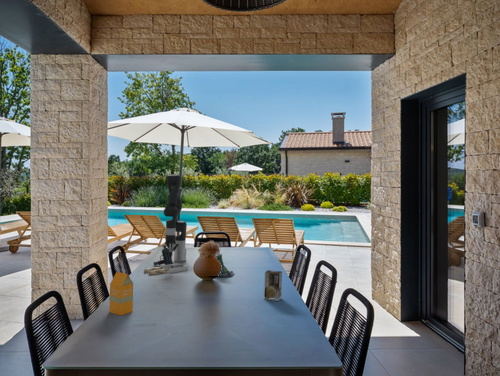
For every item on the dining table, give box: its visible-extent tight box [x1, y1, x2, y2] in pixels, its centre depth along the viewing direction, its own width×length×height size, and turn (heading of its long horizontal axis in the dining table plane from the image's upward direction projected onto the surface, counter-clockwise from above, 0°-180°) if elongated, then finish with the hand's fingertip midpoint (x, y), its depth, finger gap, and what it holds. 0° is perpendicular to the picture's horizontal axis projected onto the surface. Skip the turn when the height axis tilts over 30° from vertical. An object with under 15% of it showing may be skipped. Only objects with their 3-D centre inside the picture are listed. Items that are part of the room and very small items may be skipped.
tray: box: [160, 262, 188, 274], centre depth 284 cm, size 16×13×3 cm
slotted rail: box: [143, 266, 169, 276], centre depth 274 cm, size 14×9×2 cm, turn 130°
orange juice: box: [108, 271, 134, 316], centre depth 192 cm, size 8×9×20 cm
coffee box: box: [263, 269, 283, 302], centre depth 221 cm, size 9×6×16 cm
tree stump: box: [216, 253, 235, 278], centre depth 273 cm, size 18×20×18 cm
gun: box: [153, 248, 175, 267], centre depth 297 cm, size 3×17×15 cm
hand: (170, 256), depth 282 cm, fingers closed
